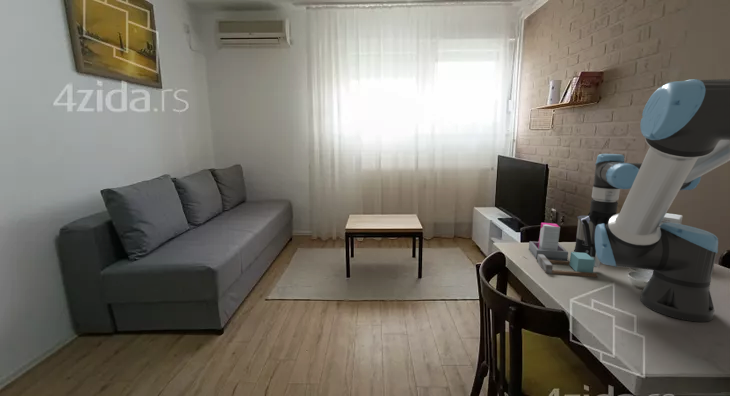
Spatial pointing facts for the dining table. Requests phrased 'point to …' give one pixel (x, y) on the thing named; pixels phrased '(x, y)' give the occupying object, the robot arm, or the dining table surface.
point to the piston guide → (548, 268)
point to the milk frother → (582, 238)
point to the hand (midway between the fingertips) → (595, 265)
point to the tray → (549, 252)
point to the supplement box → (549, 236)
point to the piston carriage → (581, 262)
